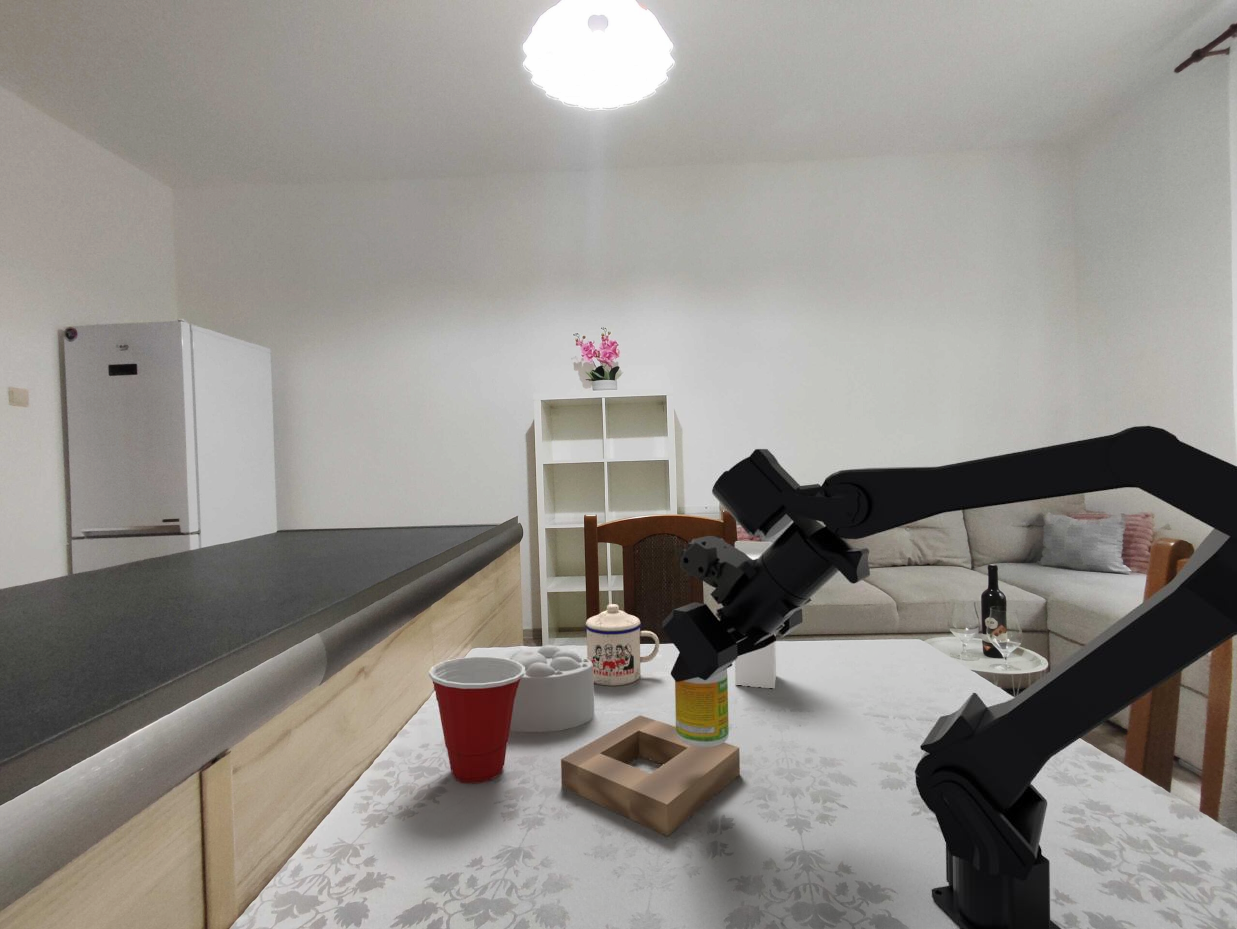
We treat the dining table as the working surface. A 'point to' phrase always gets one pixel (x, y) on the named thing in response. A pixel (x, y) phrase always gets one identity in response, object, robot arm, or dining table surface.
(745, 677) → the milk
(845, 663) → the dining table surface
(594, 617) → the teacup with lid
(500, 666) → the plastic cup
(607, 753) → the bottle holder
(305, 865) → the dining table surface
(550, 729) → the lumpy-topped squat cylinder
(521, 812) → the dining table surface
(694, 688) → the supplement bottle
